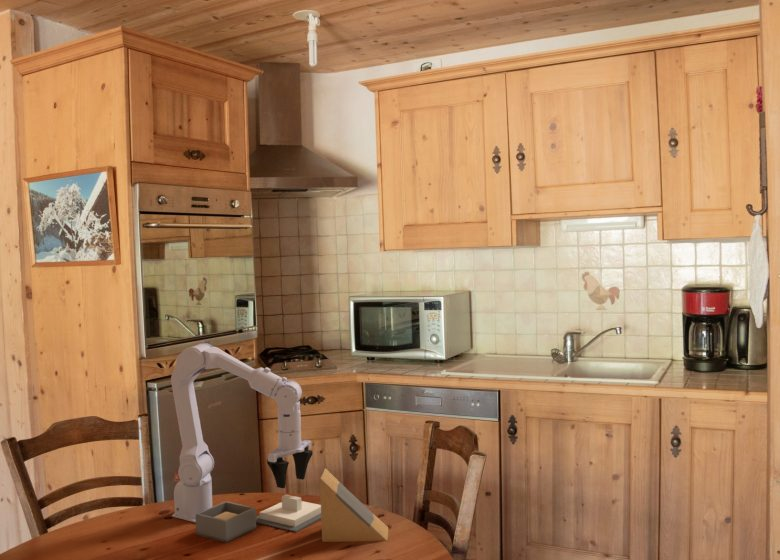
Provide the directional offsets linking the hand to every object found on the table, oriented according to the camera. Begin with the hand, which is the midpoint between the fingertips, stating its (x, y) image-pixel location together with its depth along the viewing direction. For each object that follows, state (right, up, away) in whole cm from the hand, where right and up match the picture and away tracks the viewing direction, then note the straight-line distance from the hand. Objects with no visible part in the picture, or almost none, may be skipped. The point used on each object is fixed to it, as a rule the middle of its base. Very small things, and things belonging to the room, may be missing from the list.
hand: (291, 483), depth 178 cm
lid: (0, -8, 0) cm, 8 cm away
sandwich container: (+17, -9, -12) cm, 23 cm away
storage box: (-14, -9, -8) cm, 19 cm away
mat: (0, -9, 0) cm, 9 cm away
